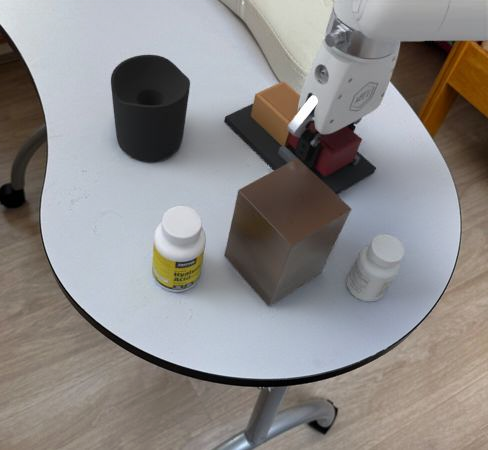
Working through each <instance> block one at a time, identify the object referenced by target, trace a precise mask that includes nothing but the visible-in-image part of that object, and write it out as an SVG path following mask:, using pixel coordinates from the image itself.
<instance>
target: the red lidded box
mask: <svg viewBox="0 0 488 450" xmlns="http://www.w3.org/2000/svg"><path fill="white" fill-rule="evenodd" d="M309 129H310V130H311V131H312V132H313V133H315V132H316V128H315V124H314V123H313V122H312V123H311V125H310V127H309ZM298 139H299V137H296V136H294V135H292V134H291V133H290V137H289V140H288V143H289V144H290V145H291V146H292V147H293V148H294V149H296V146H297V142H298ZM362 141H363V138H362V137H360V136H359V135H358V134H357V133H356V132H355V131H354V132H353V131H352V130H351V129H350V128H348V127H347V126H345V127H343V128H341V129H339V130H337V131H335V132H333V133H330V134H324V135H323V137H322V139H321V141H320V142H321V144H322V147H321V150H320V153H319V155H318V158H317V161H316V164H315V166H313V167H315V168H316V169H317V170H318V171H319V172H320V173H321V174H322V175H323V176H324V177H326V176H328V175H329V174H331V173H333V172H335V171H336V170H338V169H340V168H342V167H343V166H345V165H347V164H349V163H350V162H352V161H353V160H354V157H355V155H356V153H357V151H358V150H359V148H360V146H361V143H362Z"/></svg>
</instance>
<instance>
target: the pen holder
mask: <svg viewBox="0 0 488 450" xmlns="http://www.w3.org/2000/svg"><path fill="white" fill-rule="evenodd" d="M190 88H191V80H190V79H189V77H188V76H187V75H186V74H185V73H184V72H183V71H182V70H181V69H180V68H179V67H178V66H177V65H176V64H175V63H174V62H172V61H171V60H170V59H169V58H166V57H164V56H162V55H157V54H141V55H140V54H139V55H135V56H131V57H129V58H127V59H124V60H122V61H121V62H120V63H119V64H117V66H115V67H114V69H113V70H112V72H111V76H110V89H111V98H112V108H113V109H112V110H113V119H114V127H115V128H114V129H115V135H116V141H117V144H118V146H119V148H120V149H121V151H122V152H123V153H125V154H126V155H127V156H129V157H130V158H132V159H134V160H136V161H141V162H146V163H148V162H149V163H152V162H153V163H155V162H160V161H164V160H166V159H168V158H170V157H172V156H173V155H174V154H176V153H177V151H179V149H180V147H181V146H182V143H183V138H184V131H185V125H186V120H187V119H186V118H187V111H188V103H189V98H190V97H189V96H190Z"/></svg>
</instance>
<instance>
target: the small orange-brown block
mask: <svg viewBox="0 0 488 450" xmlns="http://www.w3.org/2000/svg"><path fill="white" fill-rule="evenodd" d="M300 96H301V94H299V92H297V91H296V90H295V89H294V88H292V87H291V86H290V85H289V84H288V83H287V82H285V81H284V80H282V81H280V82H278V83H275V84H274V85H272V86H270V87H267V88H265V89H263V90H261V91H259V92H256V93H255V94H254V99H253V103H252V104H253V108H252V113H251V117H252V118H253V119H254V120H255V121H256V122H257V123H258V124H259V125H260V126H262V127H263V128H264V129H265V130H266V131H267V132H268V133H269V134H270V135H271V136H272V137H273V138H274V139H275V140H276V141H277V142H278V143H279V144H281V145H282V146H285V147H287V146H289V145H290V144H289V143H288V140H289V137H290V132H289V131H288V130H287V126H288V125H289V124H290V122H291V121H292V120H293V119H294V117H295V116H296V115H297V113H298V104H299V100H300Z"/></svg>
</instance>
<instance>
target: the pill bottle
mask: <svg viewBox="0 0 488 450" xmlns="http://www.w3.org/2000/svg"><path fill="white" fill-rule="evenodd" d="M404 257H405V247H404V245H403V243H402V242H401V241H400V240H399V239H398V238H397V237H395V236H393V235H390V234H378V235H376V236H375V237H374V238H373V239H372V241H371V242H370V243H369V244H367V245H366V246H364V247H363V248H362V249H361V250H360V252H359V254H358V255H357V257H356V259H355V261H354V263H353V265H352V266H351V268H350V271H348V274H347V276H346V286H347V289H348V291H349V292H350V294H351V295H352V296H354V297H355V298H356V299H358V300H360V301H364V302H375V301H379V300H380V299H381V298H382V297H384V295H385V293H386V292H387V290H388V289H389V287H390V286H391V284H392V283H393V281H394V280H395V278H396V277H397V275H398V273H399V272H400V269H401V262H402V260H403V258H404Z"/></svg>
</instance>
